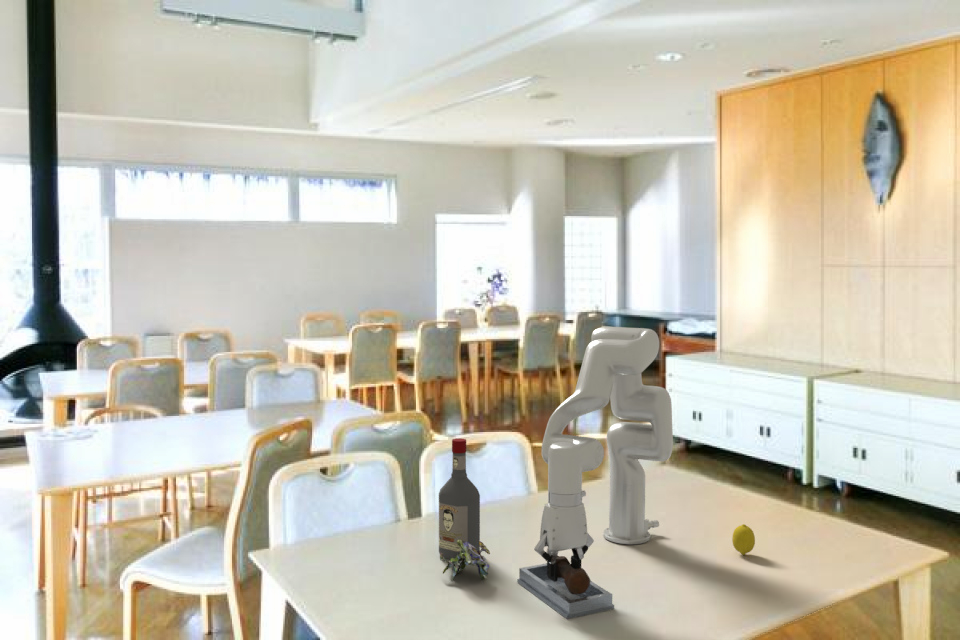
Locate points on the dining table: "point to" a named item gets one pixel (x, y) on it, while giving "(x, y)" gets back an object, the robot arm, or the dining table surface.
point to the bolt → (572, 576)
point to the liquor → (458, 507)
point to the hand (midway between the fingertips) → (564, 576)
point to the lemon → (743, 539)
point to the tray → (564, 593)
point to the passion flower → (468, 559)
